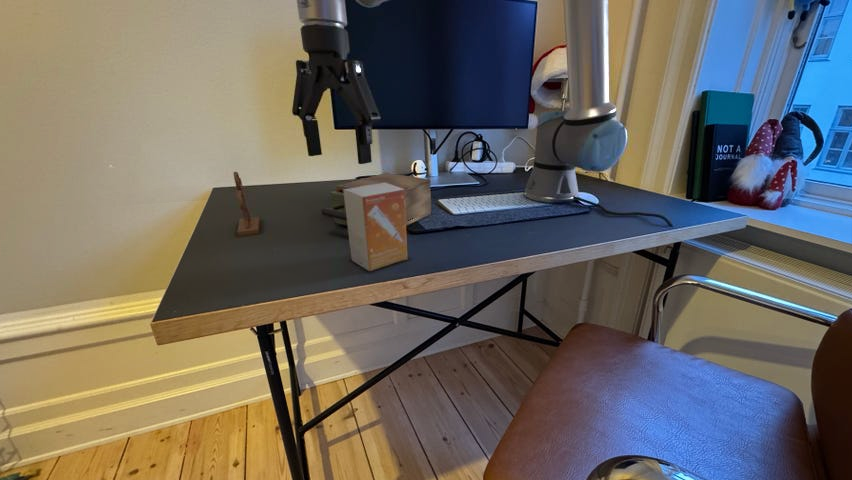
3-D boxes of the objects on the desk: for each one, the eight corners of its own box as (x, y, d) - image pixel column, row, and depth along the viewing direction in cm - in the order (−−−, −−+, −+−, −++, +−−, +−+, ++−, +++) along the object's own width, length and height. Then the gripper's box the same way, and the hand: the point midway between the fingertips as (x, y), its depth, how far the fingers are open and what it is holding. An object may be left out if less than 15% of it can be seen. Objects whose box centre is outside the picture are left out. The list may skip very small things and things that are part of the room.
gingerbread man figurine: (259, 233, 77) (245, 175, 71) (237, 236, 75) (221, 177, 70) (259, 220, 84) (246, 167, 79) (240, 222, 82) (225, 168, 77)
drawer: (359, 241, 71) (355, 207, 68) (315, 229, 77) (309, 198, 74) (421, 213, 88) (420, 185, 85) (381, 205, 93) (379, 178, 90)
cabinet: (387, 234, 78) (384, 194, 74) (340, 223, 83) (335, 185, 80) (431, 214, 91) (430, 179, 87) (388, 205, 96) (385, 172, 93)
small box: (369, 272, 62) (361, 196, 56) (351, 260, 66) (341, 188, 60) (408, 259, 67) (405, 188, 61) (389, 249, 71) (384, 181, 65)
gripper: (256, 26, 63) (279, 154, 73) (363, 18, 53) (374, 170, 62) (293, 32, 69) (311, 150, 79) (396, 26, 59) (402, 163, 68)
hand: (339, 159), depth 70 cm, fingers open, 12 cm apart
